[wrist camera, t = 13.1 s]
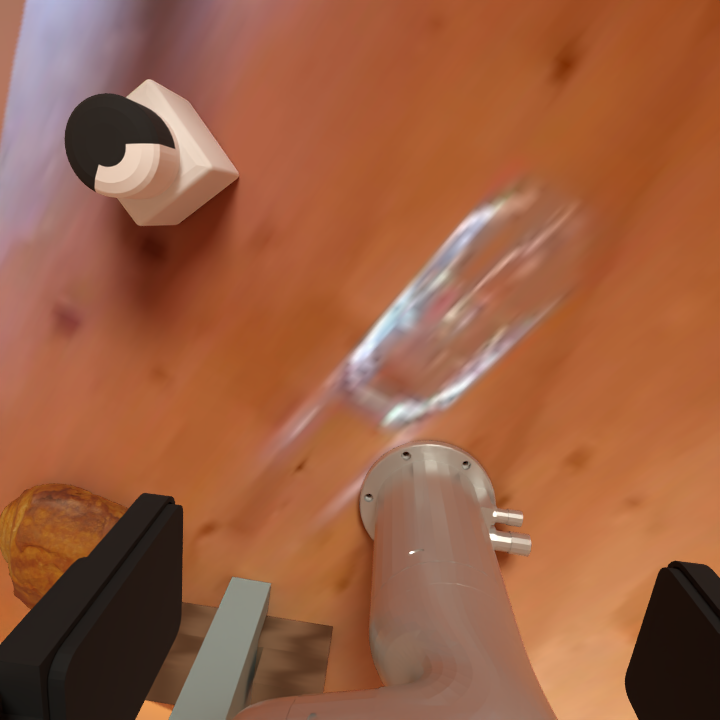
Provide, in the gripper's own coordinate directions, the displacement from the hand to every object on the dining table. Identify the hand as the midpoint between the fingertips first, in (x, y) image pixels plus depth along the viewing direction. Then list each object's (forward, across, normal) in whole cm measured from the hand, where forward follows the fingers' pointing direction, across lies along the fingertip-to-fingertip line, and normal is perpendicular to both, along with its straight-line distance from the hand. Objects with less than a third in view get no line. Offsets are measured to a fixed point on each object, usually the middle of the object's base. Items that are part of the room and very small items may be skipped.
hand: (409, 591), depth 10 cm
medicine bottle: (+37, +19, -8) cm, 42 cm away
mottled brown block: (+36, +11, +37) cm, 52 cm away
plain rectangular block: (+36, +11, +37) cm, 52 cm away
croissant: (+36, +28, +29) cm, 54 cm away
